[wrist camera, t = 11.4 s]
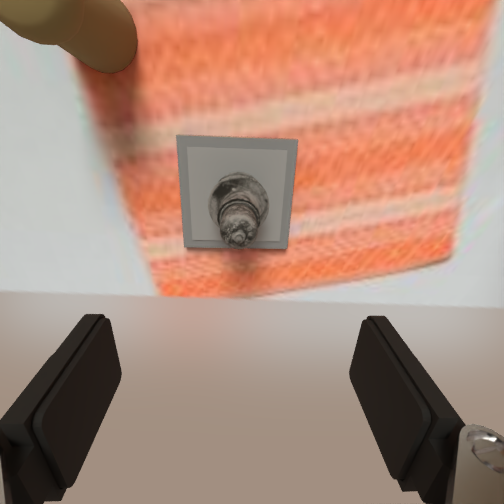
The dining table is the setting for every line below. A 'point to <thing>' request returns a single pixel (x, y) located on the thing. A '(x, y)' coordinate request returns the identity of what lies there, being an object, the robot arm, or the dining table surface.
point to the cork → (77, 29)
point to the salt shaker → (238, 208)
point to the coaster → (227, 161)
